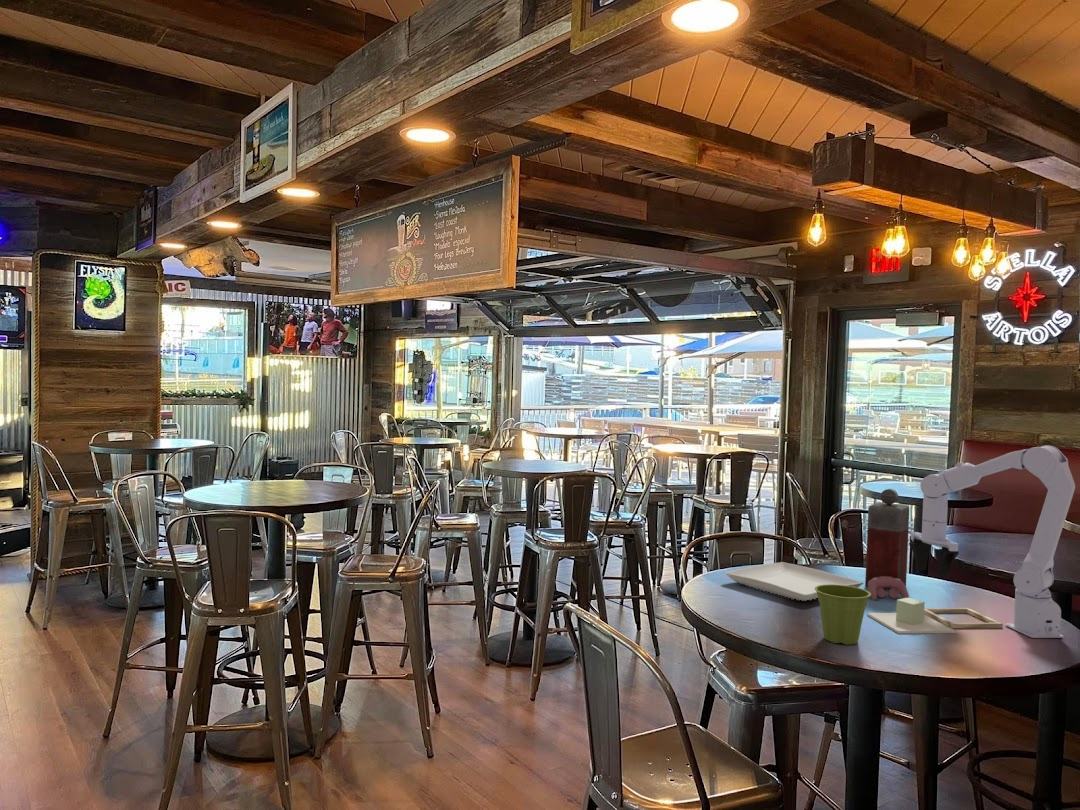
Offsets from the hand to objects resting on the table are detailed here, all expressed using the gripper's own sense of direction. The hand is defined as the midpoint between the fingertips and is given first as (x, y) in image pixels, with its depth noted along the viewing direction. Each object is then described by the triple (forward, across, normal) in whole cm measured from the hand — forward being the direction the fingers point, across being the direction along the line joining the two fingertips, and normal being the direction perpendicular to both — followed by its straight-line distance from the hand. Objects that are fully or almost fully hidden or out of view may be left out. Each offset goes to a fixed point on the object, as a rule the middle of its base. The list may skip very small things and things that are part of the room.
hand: (932, 573), depth 204 cm
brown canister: (+10, +23, -4) cm, 25 cm away
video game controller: (+10, +11, +5) cm, 15 cm away
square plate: (+10, +25, +24) cm, 36 cm away
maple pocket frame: (+9, -9, -1) cm, 13 cm away
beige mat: (+9, -10, +14) cm, 20 cm away
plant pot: (+10, -18, +39) cm, 44 cm away
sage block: (+9, -10, +14) cm, 20 cm away
